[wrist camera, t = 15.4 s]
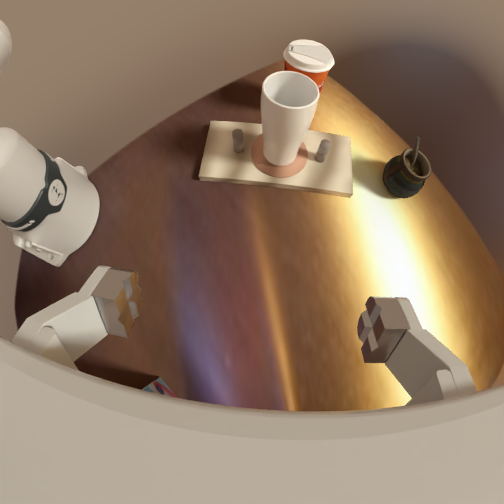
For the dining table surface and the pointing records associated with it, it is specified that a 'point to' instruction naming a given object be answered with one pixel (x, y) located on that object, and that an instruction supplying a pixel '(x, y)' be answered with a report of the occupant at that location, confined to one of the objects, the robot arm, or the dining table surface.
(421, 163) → the mate gourd
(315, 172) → the pin board
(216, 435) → the robot arm
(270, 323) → the dining table surface
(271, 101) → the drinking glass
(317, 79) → the paper cup
